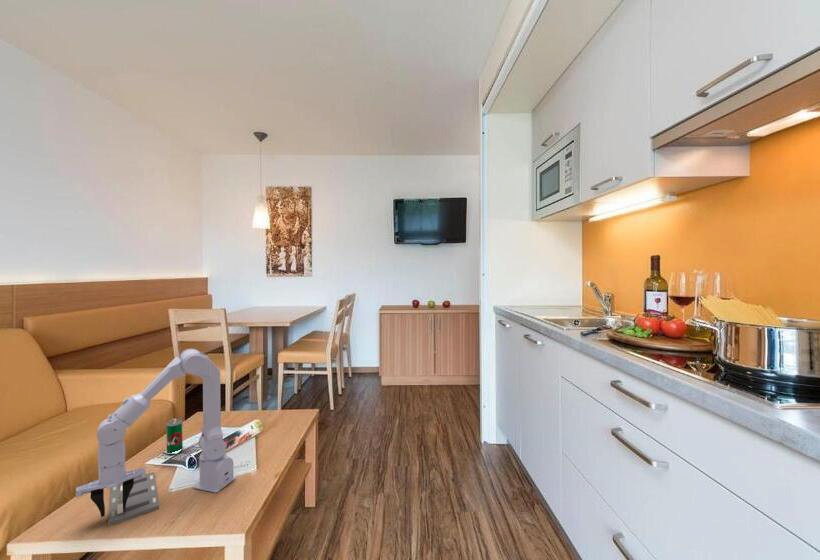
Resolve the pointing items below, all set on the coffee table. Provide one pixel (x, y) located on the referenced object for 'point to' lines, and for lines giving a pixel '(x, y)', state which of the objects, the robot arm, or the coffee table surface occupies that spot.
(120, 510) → the handle
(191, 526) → the coffee table surface
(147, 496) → the breaker panel
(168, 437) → the soda can
